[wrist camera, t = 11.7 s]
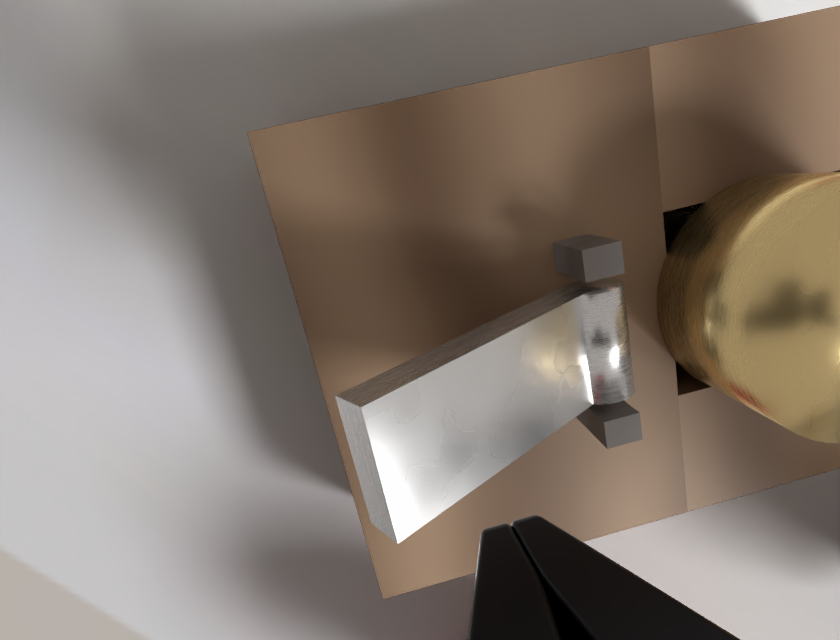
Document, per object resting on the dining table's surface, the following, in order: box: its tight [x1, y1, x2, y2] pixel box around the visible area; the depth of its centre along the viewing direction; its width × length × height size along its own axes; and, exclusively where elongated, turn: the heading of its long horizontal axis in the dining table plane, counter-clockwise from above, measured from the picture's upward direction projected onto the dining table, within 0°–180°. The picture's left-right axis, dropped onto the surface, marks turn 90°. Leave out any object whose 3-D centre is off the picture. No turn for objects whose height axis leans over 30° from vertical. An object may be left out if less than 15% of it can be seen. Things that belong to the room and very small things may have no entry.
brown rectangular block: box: [247, 6, 840, 599], centre depth 16 cm, size 18×14×7 cm
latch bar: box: [335, 278, 635, 544], centre depth 12 cm, size 8×3×2 cm, turn 102°
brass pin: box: [656, 172, 840, 443], centre depth 16 cm, size 6×6×8 cm
